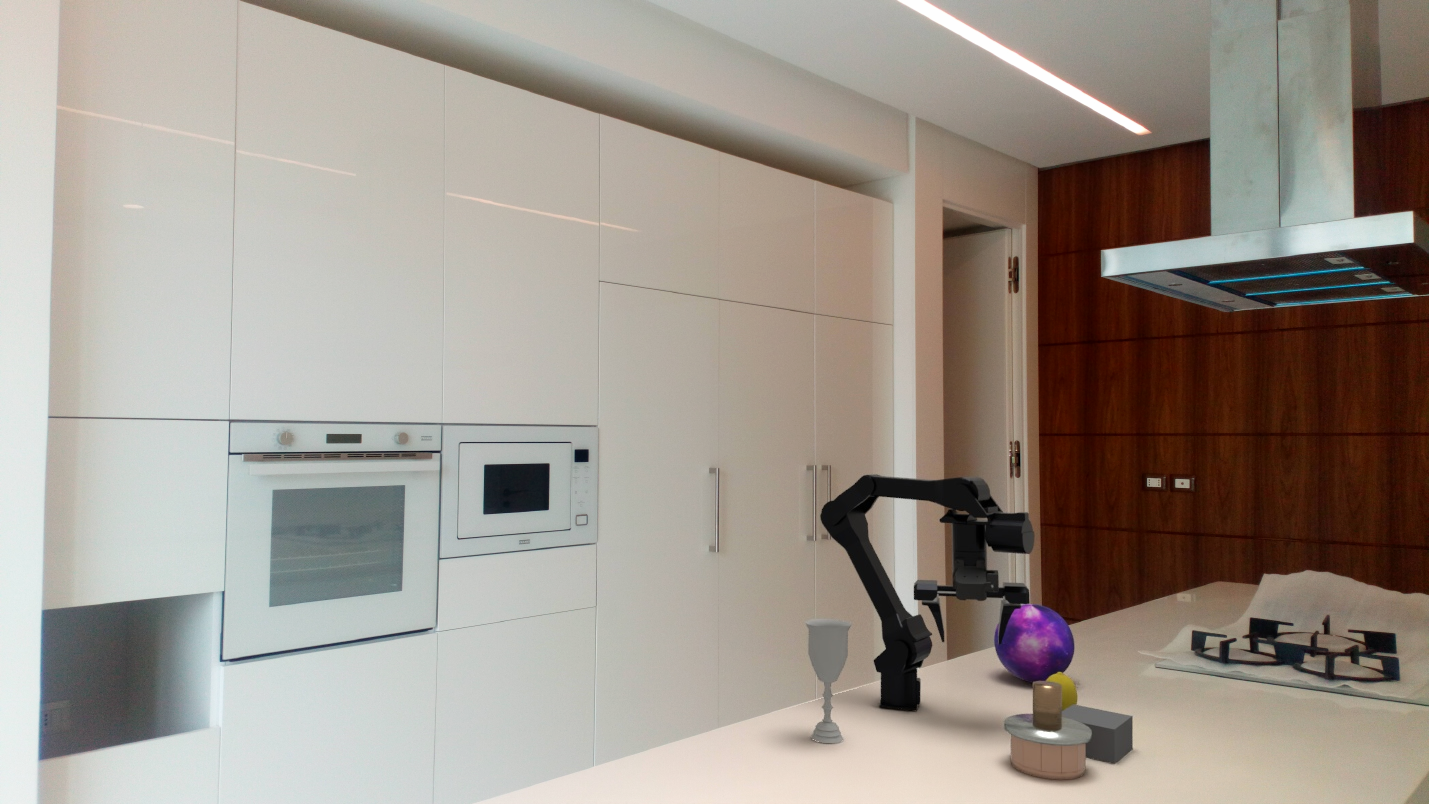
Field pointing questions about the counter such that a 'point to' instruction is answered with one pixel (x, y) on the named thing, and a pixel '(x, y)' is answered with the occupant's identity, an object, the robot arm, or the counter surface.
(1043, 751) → the bowl
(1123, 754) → the block
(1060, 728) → the lid
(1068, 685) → the lemon
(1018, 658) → the decorative orb
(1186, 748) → the counter surface
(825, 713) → the chalice
